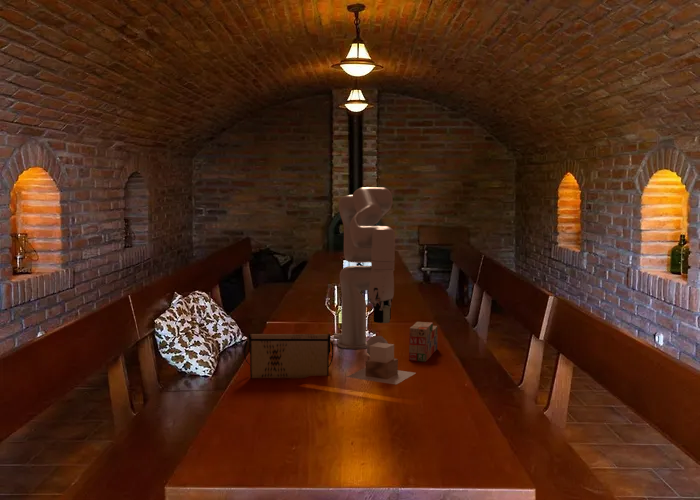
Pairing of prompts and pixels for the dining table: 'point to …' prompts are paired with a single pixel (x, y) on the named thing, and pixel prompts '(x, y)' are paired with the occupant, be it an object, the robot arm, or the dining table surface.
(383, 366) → the base block
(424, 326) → the stack of blocks
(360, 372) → the grey board
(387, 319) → the olive domed cylinder
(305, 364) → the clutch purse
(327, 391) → the dining table surface
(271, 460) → the dining table surface
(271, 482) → the dining table surface
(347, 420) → the dining table surface
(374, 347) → the middle block
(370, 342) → the chicken leg
